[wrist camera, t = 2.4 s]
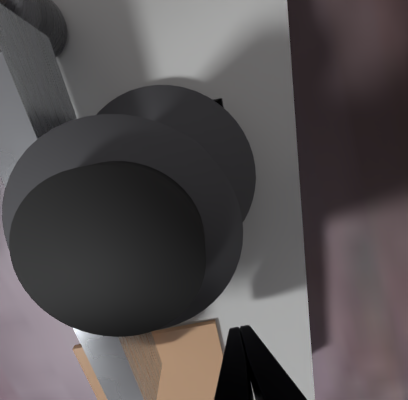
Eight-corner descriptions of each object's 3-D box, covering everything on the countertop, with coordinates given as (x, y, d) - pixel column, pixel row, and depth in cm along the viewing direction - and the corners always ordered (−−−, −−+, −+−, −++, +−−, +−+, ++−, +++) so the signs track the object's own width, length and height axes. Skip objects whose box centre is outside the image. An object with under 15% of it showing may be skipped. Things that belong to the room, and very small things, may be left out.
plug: (136, 235, 12) (-10, 456, 4) (98, 119, 10) (-366, 14, 2) (245, 214, 12) (362, 393, 3) (226, 92, 10) (376, -168, 2)
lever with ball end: (134, 354, 10) (106, 448, 7) (-5, -2, 6) (-212, -149, 3) (170, 348, 10) (158, 440, 7) (53, -15, 6) (-97, -179, 3)
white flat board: (140, 391, 15) (125, 455, 12) (-44, -56, 8) (-191, -178, 5) (293, 365, 15) (318, 423, 12) (241, -126, 8) (270, -301, 5)
